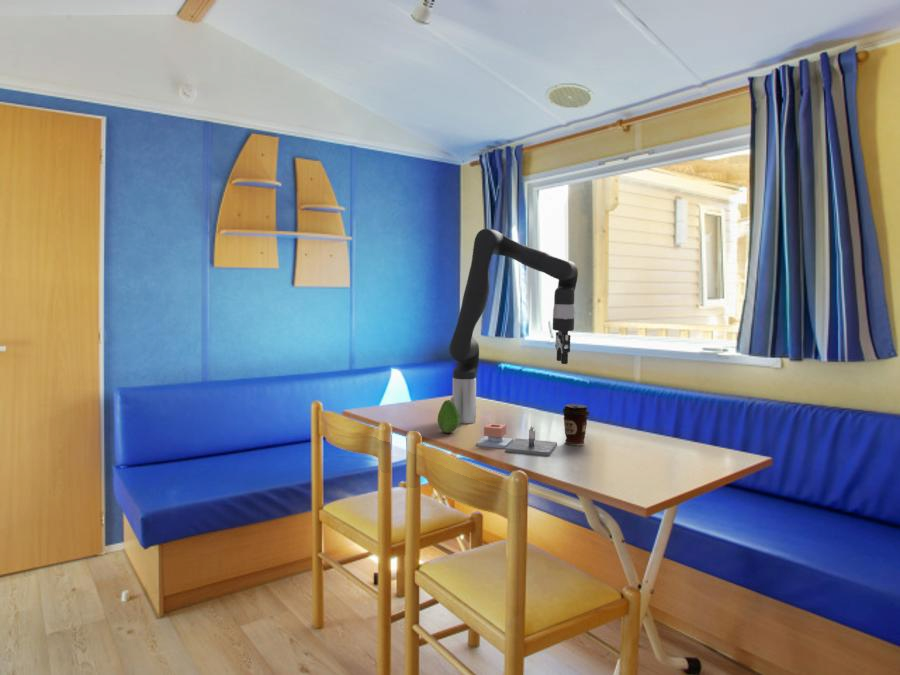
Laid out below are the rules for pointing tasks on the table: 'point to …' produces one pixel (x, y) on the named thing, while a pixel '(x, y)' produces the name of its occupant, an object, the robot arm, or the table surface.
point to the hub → (531, 445)
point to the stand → (494, 442)
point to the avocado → (448, 417)
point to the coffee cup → (575, 423)
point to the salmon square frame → (495, 430)
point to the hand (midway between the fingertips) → (561, 362)
